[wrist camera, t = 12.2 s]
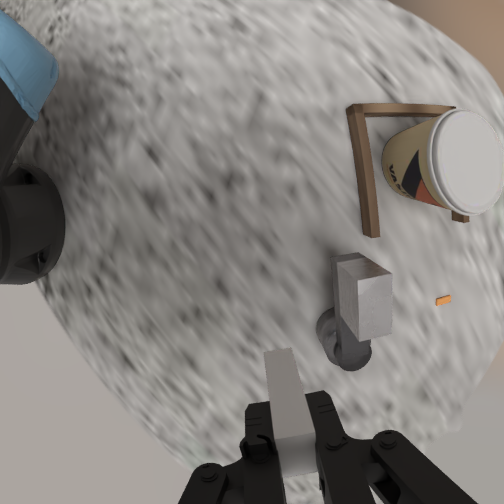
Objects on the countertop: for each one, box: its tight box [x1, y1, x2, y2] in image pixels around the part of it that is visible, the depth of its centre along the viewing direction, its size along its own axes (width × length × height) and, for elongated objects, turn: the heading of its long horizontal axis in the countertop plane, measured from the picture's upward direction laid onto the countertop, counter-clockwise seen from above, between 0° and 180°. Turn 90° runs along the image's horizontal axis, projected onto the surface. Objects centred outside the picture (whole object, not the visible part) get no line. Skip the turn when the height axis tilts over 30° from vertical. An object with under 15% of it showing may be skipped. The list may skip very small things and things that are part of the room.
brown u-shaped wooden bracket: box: [346, 103, 469, 238], centre depth 30 cm, size 14×14×2 cm
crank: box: [331, 252, 392, 371], centre depth 26 cm, size 12×4×7 cm, turn 9°
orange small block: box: [436, 295, 451, 306], centre depth 35 cm, size 2×1×1 cm, turn 99°
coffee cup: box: [382, 108, 504, 216], centre depth 26 cm, size 9×9×12 cm
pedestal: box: [316, 308, 371, 366], centre depth 33 cm, size 5×5×5 cm
